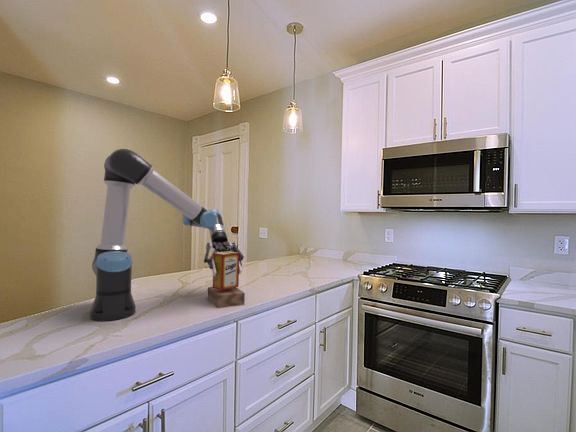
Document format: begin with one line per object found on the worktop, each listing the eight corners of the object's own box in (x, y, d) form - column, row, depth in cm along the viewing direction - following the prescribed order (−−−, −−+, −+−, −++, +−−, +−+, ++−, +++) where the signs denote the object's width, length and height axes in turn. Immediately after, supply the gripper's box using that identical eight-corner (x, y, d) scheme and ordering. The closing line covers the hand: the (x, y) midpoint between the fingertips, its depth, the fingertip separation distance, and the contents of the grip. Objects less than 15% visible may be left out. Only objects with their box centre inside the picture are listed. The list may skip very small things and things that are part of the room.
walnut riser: (217, 307, 127) (218, 295, 127) (207, 298, 141) (207, 287, 141) (244, 304, 133) (244, 292, 133) (231, 295, 147) (232, 284, 147)
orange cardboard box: (221, 290, 131) (222, 253, 131) (212, 287, 136) (213, 252, 135) (238, 286, 139) (239, 252, 139) (229, 284, 143) (230, 250, 143)
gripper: (239, 240, 156) (249, 276, 143) (192, 241, 145) (199, 280, 131) (243, 230, 152) (254, 266, 138) (195, 230, 140) (203, 270, 127)
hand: (228, 273), depth 135 cm, fingers closed on orange cardboard box, 11 cm apart
